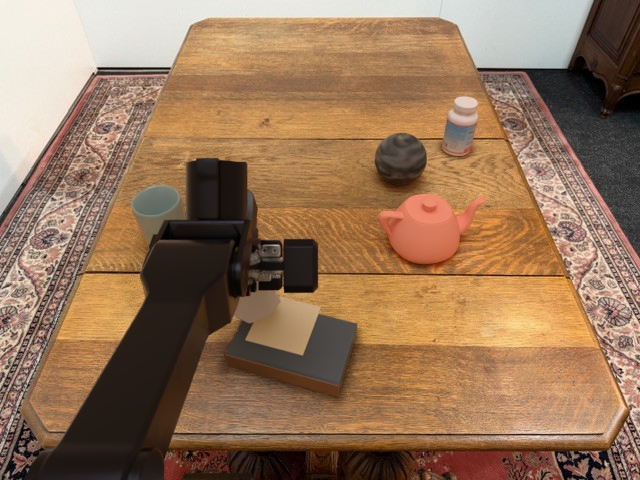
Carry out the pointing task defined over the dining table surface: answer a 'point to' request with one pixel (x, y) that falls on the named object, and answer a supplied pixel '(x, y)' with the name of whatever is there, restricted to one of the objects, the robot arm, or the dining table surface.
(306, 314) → the grey and beige box
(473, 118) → the pill bottle
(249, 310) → the octagonal bud vase
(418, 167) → the decorative stone
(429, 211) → the teapot
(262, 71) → the dining table surface
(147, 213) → the cup
